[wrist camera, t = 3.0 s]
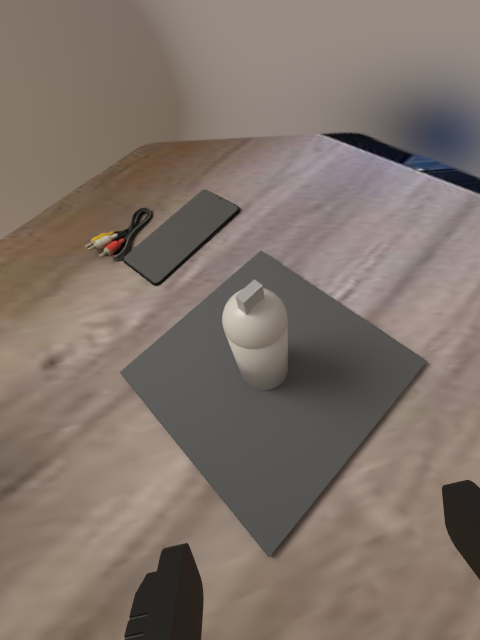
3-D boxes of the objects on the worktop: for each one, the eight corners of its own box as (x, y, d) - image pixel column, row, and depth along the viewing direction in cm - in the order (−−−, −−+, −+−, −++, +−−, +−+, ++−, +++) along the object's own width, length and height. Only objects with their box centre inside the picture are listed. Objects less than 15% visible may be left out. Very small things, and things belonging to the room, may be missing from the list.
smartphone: (120, 258, 39) (203, 187, 43) (123, 263, 39) (205, 193, 44) (155, 285, 36) (241, 206, 40) (158, 290, 37) (242, 212, 41)
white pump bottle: (230, 368, 29) (197, 294, 19) (263, 337, 30) (249, 250, 20) (264, 400, 27) (249, 338, 17) (298, 365, 29) (303, 287, 18)
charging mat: (122, 374, 31) (119, 372, 31) (261, 254, 36) (260, 250, 36) (269, 556, 22) (268, 557, 22) (424, 363, 28) (426, 361, 27)
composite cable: (145, 210, 44) (137, 195, 42) (168, 222, 42) (161, 207, 40) (90, 256, 41) (79, 242, 38) (112, 272, 39) (102, 259, 37)
